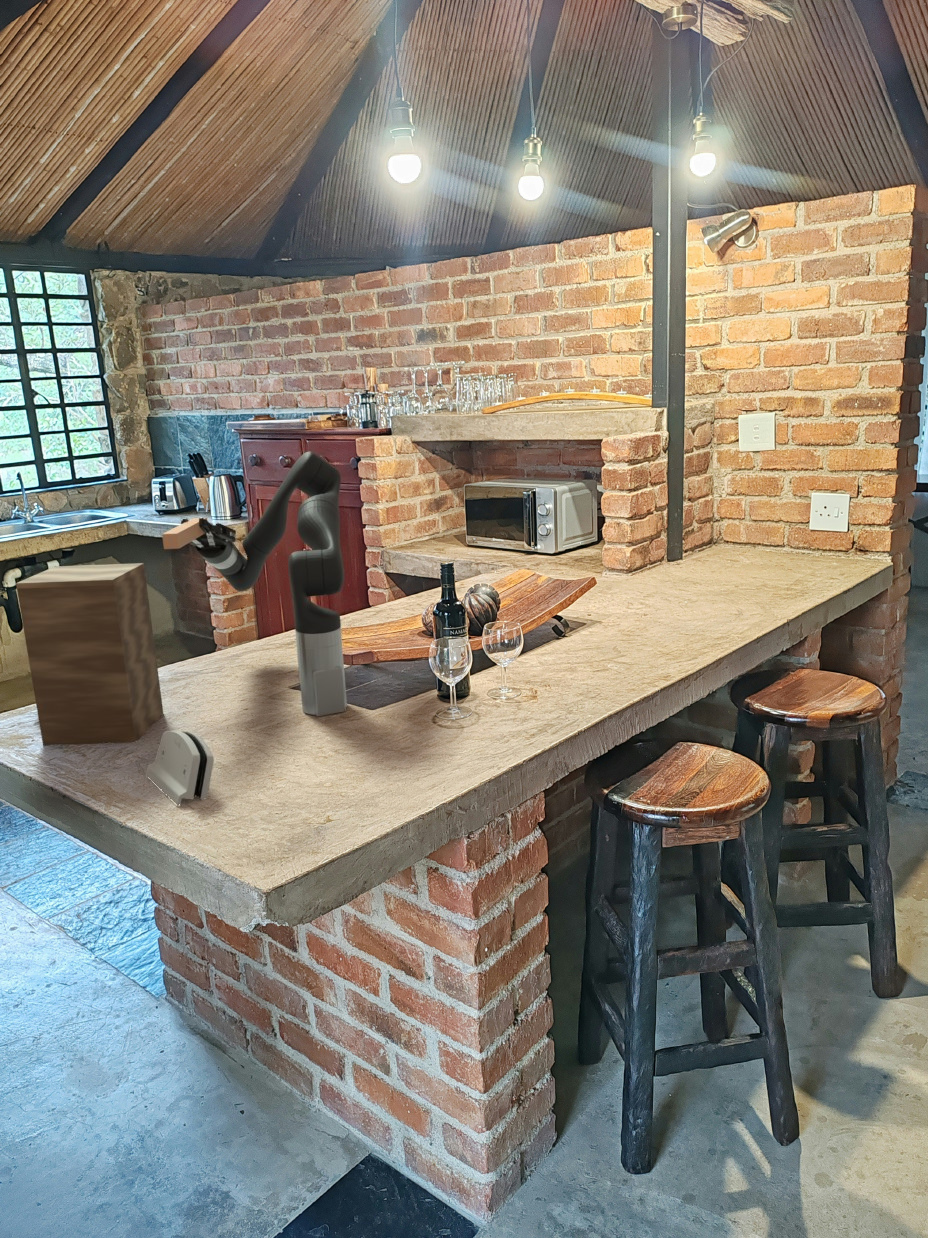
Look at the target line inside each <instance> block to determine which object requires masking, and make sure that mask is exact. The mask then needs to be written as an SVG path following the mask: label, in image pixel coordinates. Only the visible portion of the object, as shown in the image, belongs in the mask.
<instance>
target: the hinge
mask: <svg viewBox="0 0 928 1238" xmlns="http://www.w3.org/2000/svg"><path fill="white" fill-rule="evenodd" d="M213 755H214V754H213V753H212V751H211V749H210V747H209V745H208V744H207V742H206V741H205V740H204V739H203V737H201V736H200V735H198V734H195V733H193V732H189V731H185V730H167V731H164V732H162V735H161V738H160V743H159V747H158V749H157V753H156V757H155V759H154V761H153V762H152V763H150V764H149V765H148V766H147V768H146V772H145V776H146V775H147V777H149V778H150V779H151V780H152V781H153V782H154V783H155V784H156V785H157V786H158V787H159V788H160V789H162V791H163V792H164V793H165V794H167V796H169V797H170V799H172V800H173V801H174V802H175V803H176V804H177V805H179V804H181V805H182V800H183V799H187V800H194V798H196V797H197V798H198V799H200V800H205V799H204V798H207V799H208V795H209V790H210V784H211V779H212V778H211V777H212V774H213V767H214V759H215V758H214V756H213ZM147 777H146V778H147Z"/></svg>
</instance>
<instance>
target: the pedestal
mask: <svg viewBox="0 0 928 1238" xmlns="http://www.w3.org/2000/svg"><path fill="white" fill-rule="evenodd" d="M15 585H16V586H15V587H16V593H17V597H18V603H19V609H20V610H19V611H20V614H21V621H22V627H23V633H24V640H25V645H26V651H27V659H28V662H29V669H30V675H31V680H32V688H33V694H34V699H35V705H36V711H37V717H38V718H37V719H38V723H39V728H40V735H41V740H42V741H41V742H42V745H43V746H65V745H66V746H67V745H71V746H72V745H94V744H95V745H98V744H102V745H105V744H127V743H128V744H129V743H130V744H131V743H133V742H134V743H137V742H138V741H139V740H140V738H142V736H143V735H145V734H146V732H147V731H149V729H150V728H152V726H153V725H154V724H155V723H156V722H157V721H158V719H159V718H161V716H162V715H163V714H164V708H163V700H162V693H161V684H160V677H159V669H158V661H157V653H156V647H155V637H154V633H153V632H154V631H153V623H152V616H151V608H150V601H149V599H150V598H149V593H148V585H147V577H146V570H145V564H144V562H142V563H141V562H138V563H113V564H85V565H83V564H82V565H60V566H59V565H58V566H54V567H51V568H50V567H49V568H48V569H46V570H44V571H41V572H38V573H36V574H34V575H32V576H30V577H27V578H25V579H23V580H20V581H18V582H16V583H15Z"/></svg>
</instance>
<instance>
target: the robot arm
mask: <svg viewBox="0 0 928 1238" xmlns="http://www.w3.org/2000/svg"><path fill="white" fill-rule="evenodd" d="M341 475H342V474H341V473H340V471H339V470H338V468H336V467H335V466H334V465H332V464H331V463H330V462H329V461H326V459H324V458H322V457H321V456H320V455H318V454H317V453H315V452H314V451H306V452H304V453H303V454H302V455H301V456H299V458H298V459H297V460H296V461H295V462H294V464H293V465H292V467H291V468H290V469H289V471H288V473H287V475H286V476H285V478H284V480H283V481H282V483H281V484H280V486H279V488H278V489H277V490H276V492H275V494H274V495H273V497H272V498H271V499H272V500H270V502H269V505H268V506H267V508H266V510H264V513H263V514H262V516H261V517H260V518H259V520H257V522H256V523H255V525H254V526H253V527H252V528H251V530H250V531H249V532H248V533H247V534H246V536H245V537H244V539H243V541H242V542H241V544H242V548H243V550H244V553H245V556H246V557H245V556H244V555H243V553H241V552H240V550H239V549H238V548H237V547H236V544H235V542H236V538H237V537H236V536H237V530H236V529H233V528H232V527H229V526H227V525H224V524H222V523H218V522H216V523H215V524H213V523H212V522H209V520H208V519H207V520H206V519H204V518H205V517H204V516H203V517H198V518H199V527H200V528H201V529H202V530H203V531H204V532H205V534H203V535H201V536H200V537H198V538H196V539H195V540H193V541H191V542H189V543H188V544H189V545H192V546H193V547H194V548H195V550H196V552H197V553H198V555H200V556H201V558H202V559H204V561H206V563H208V564H209V565H210V566H212V567H213V568H214V569H215V570H216V571H217V572H219V573H220V574H221V575H222V576H223V578H225V580H226V581H227V582H228V583H229V584H230V586H231V587H232V588H233V589H234V590H235V591H238V592H245V591H248V590H250V589H251V588H253V587H254V585H255V584H256V583H257V581H258V579H259V577H260V575H261V573H262V570H263V568H264V565H265V563H266V561H267V559H268V557H269V555H270V554H271V553H272V552H273V550H274V549H275V548H276V547H277V546H278V545H279V544H280V542H281V541H282V539H283V537H284V535H285V532H286V528H287V521H288V507H289V502H290V499H291V497H292V494H293V493H294V491H295V490H296V489H298V490H299V491H301V492H303V493H304V494H305V495H306V496H308V497H307V499H305V500H304V501H303V502H302V503H301V504H300V506H299V509H298V511H297V512H298V513H297V519H296V520H297V523H296V524H297V525H296V526H297V533H298V536H299V537H300V539H301V540H302V542H303V543H304V544H305V545H306V546H307V547H309V548H310V549H312V550H298V551H297V550H296V551H294V552H292V553H290V555H289V557H288V577H289V583H290V585H289V586H290V590H291V591H290V592H291V597H292V605H293V606H292V607H293V617H294V631H295V641H296V642H295V643H296V654H297V665H298V675H299V686H300V697H301V709H302V712H303V713H306V714H308V715H314V716H316V717H322V716H326V715H327V716H328V715H331V714H337V713H341V712H346V711H347V710H346V708H347V706H348V699H347V690H346V677H345V662H344V651H343V640H342V639H343V637H342V627H341V626H342V625H341V624H342V622H341V616H340V614H339V612H338V611H335V610H334V609H330V608H326V607H323V606H320V605H318V604H316V603H314V602H313V601H311V600H310V599H309V597H322V596H331V595H332V596H333V595H336V594H339V593H340V592H341V591H342V590H343V588H344V587H343V586H344V584H345V583H344V582H345V568H344V561H343V556H342V549H341V541H340V540H341V520H340V510H339V509H340V508H339V506H340V505H339V502H340V499H339V497H340V490H341V485H342V484H341V483H342V476H341ZM189 520H190V519H188V518H186V517H184V518H182V520H181V521H180V525H181V524H183V523H185V522H187V521H189Z"/></svg>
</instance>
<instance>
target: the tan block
mask: <svg viewBox="0 0 928 1238" xmlns="http://www.w3.org/2000/svg"><path fill="white" fill-rule="evenodd" d="M199 518H200V517H193V518H191V519H188V520H189V521H187V522H185V523H183V524H181V523H180V525H177V526H175V527H174V528H171V529H169V530H167V531H166V532H164V533H162V534H161V536H162V537H161V538H162V545H163V549H164V550H176V549H177V550H178V549H181V548H182V547H184V546H186V545H188V544H190V543H189V542H191V541H193V540H195V539H196V538H198V537H200V536H201V535H203V534H205V532H204V531H203V530H202V529H201V528H200V527H199ZM203 518H204V519H206V520H207V521H208V517H203Z"/></svg>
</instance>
